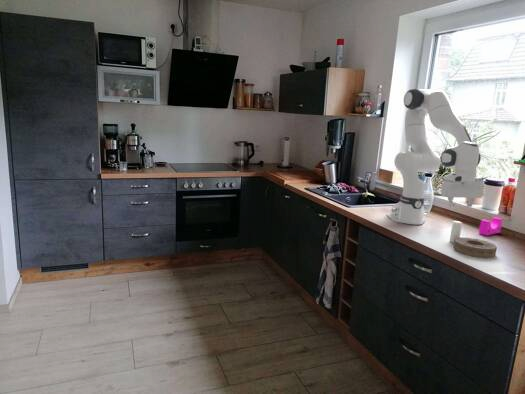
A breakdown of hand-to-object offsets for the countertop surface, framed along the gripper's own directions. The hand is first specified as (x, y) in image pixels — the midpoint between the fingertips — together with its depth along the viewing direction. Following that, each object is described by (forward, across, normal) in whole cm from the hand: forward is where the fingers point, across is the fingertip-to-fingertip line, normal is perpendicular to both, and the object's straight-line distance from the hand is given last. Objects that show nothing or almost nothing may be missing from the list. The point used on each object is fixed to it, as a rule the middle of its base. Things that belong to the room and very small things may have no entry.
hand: (460, 206), depth 183 cm
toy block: (+18, -33, -18) cm, 42 cm away
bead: (+18, 0, +12) cm, 22 cm away
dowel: (+18, 0, -1) cm, 18 cm away
